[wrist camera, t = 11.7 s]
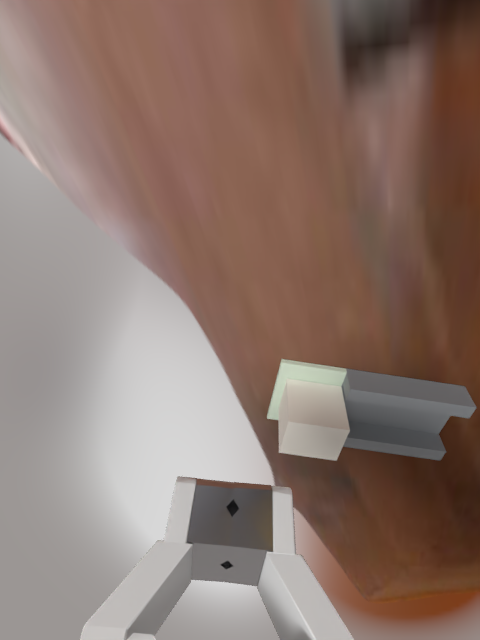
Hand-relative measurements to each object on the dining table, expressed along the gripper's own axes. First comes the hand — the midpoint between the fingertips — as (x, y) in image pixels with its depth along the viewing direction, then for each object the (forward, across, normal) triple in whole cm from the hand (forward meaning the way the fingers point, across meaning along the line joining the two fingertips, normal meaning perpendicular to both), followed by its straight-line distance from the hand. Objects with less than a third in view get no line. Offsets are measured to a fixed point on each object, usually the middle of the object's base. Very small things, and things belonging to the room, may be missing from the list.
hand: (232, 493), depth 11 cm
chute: (+27, -15, +23) cm, 38 cm away
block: (+26, -9, +22) cm, 36 cm away
